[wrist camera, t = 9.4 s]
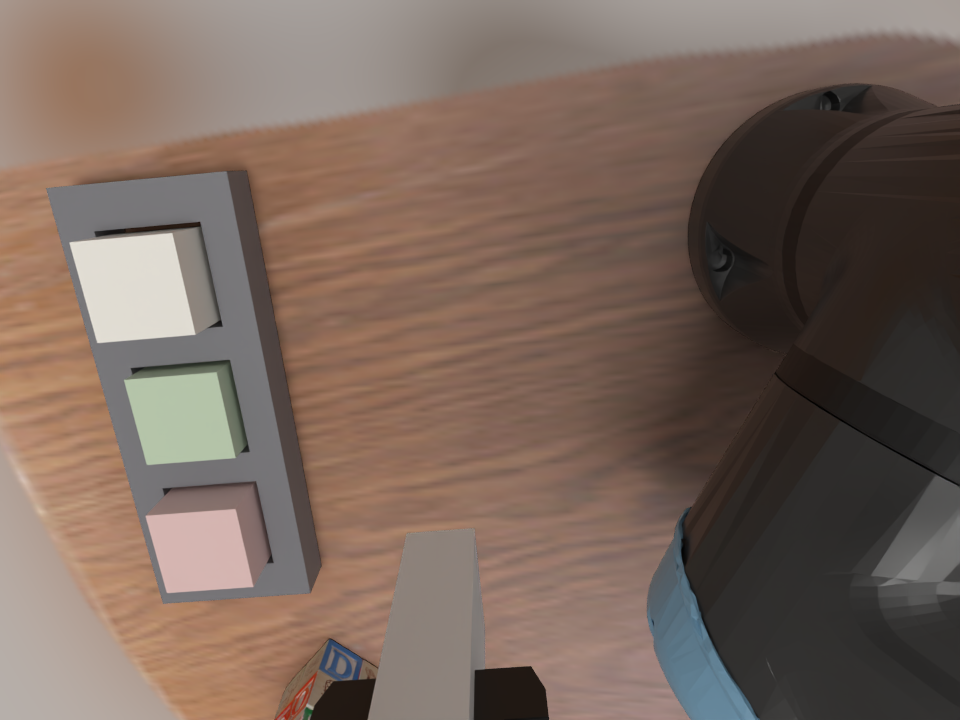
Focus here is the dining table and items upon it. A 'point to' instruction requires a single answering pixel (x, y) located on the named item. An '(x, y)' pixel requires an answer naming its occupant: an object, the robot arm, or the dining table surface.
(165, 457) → the sage button
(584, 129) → the dining table surface
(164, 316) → the white button
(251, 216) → the button panel
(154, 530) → the rose button
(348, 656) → the stack of blocks
